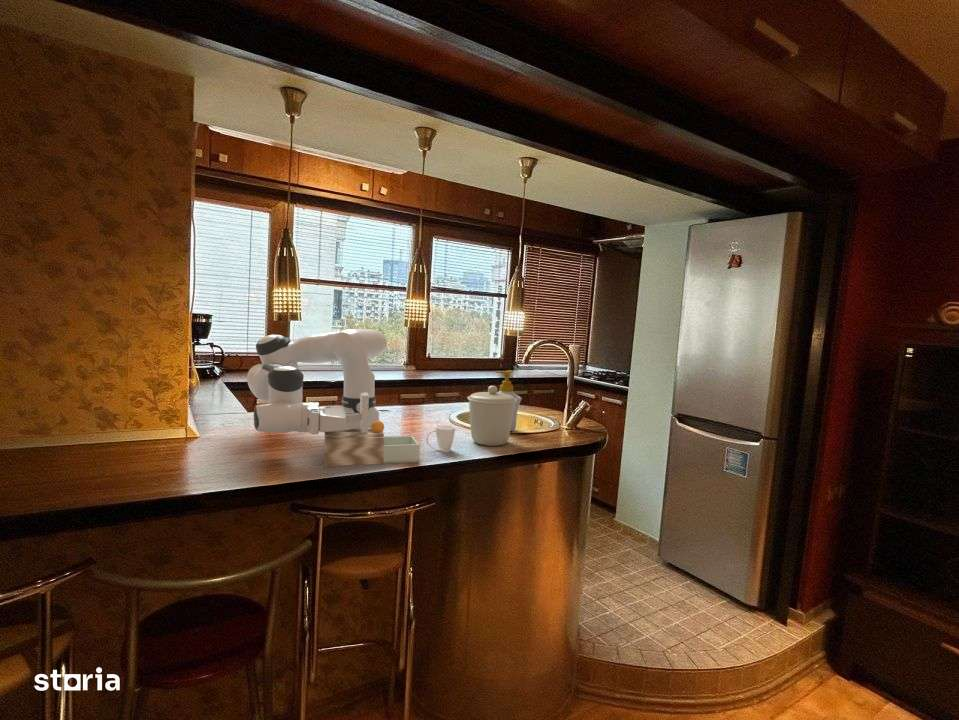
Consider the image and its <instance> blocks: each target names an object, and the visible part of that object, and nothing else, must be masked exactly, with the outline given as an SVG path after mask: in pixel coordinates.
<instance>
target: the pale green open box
mask: <svg viewBox="0 0 959 720" xmlns="http://www.w3.org/2000/svg"><path fill="white" fill-rule="evenodd" d="M419 462H420V443H419V442H418V441H417V439H416V438H415V437H414V435H395V436H394V435H392V436H390V435H389V436H388V435H387V436H384V463H383V464H382V465H385V464H387V465H388V464H405V463H406V464H409V463H419Z"/></svg>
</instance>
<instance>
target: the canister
mask: <svg viewBox="0 0 959 720" xmlns="http://www.w3.org/2000/svg"><path fill="white" fill-rule="evenodd" d="M498 390H499V389H498V387H497V386H496V385H490V386H488V388H487V391H478V392H474V393H472V394H470V395H468V396H467V397H466V398H467V400H468V407H469V424H470V435H471V439H472V440H473V442H475V443H476V444H478V445H481V446H487V447H488V446H489V447H499V446H503V445H505V444H506V443H507V442H508V441H509V438H510V435H511V432H510V430H511V425H512V419H513V413H514V407H515V403H516V402H517V399H515V398H514V397H513V396H511V395H509V394H505V393H498V392H499V391H498Z"/></svg>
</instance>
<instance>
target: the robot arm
mask: <svg viewBox="0 0 959 720" xmlns="http://www.w3.org/2000/svg"><path fill="white" fill-rule="evenodd" d="M387 346H388V340H387V338H386V335H385V334H384V333H383V332H380V331H378V330H377V329H371V328H350V329H349V328H347V329H344V330H341V331H333V332H324V333H317V334H316V333H315V334H310V335H306V336H302V337H299V338H297V339H294V340H293V341H292V339H291V338H290V337H288V336H283V335H281V334H275V333H274V334H273V333H272V334H269V335H266V336H263V337H262V338H260V339H259V340H258V341H257V343H256V344H255V350H256V353H257V356H259V359H260V361H261V363H258V364H255V365H253V366H252V367H251V368H250V369H249V370H248V372H247V374H246V375H247V376H246V381H247V385H248V388H249V390H250V391H251V393H252V394H253V396H255V398H257V399H259V400H261V401H264V402H268V403H263V404H262V403H259V404H257V405H255V407H254V409H253V425H254V428H255V430H256V431H257V432H261V433H272V434H287V433H291V432H297V433H302V434H303V433H308V434H310V435H319V433H325V432H332V431H341V430H345V429H346V428H360V420H361V415H360V396H361V393H368V395H369V407H368V428H371V425H372V423H373V422H374V421H377V420H378V421H380V411H379V410H378V409H377V408H376V396H375V381H376V378H375V374H374V373H373V372H372V371H371V368H370V365H369V360H368V359H374V358H376V357H378V356H380V355H383V353H385V351H386V350H387ZM334 362H335V363H336V362H340V365H341V369H342V373H343V395H342V397H341V398H342V399H341V405H338V404H337V405H335V404H334V405H332V404H331V405H321V406H320V402H313V401H311V402H310V401H309V402H303V385H304V377H305V376H304V374H303V372H302V371H301V370H300V367H299V365H298V363H302V364H324V363H334ZM382 433H384V430H383V431H382Z"/></svg>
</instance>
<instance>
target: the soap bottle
mask: <svg viewBox="0 0 959 720" xmlns="http://www.w3.org/2000/svg"><path fill="white" fill-rule="evenodd" d="M496 373H497V374H502V375H504V376H503V377H504V380H502V382H501V384H500V385H499V391H497V392H498V393H505V394H509V395H511V396H513V397H514V398H515V399H517V402H516V403H515V407H514V413H513V419H512V425H511V430H510V431H512V432H514V431H515V430H516V428H517V418H518V417H517V415H518V411H519V407H520V403H521V401H522V400H523V399H522V397H521V396H519V395H518V394H516V393H515V392H514V385H512V381H510V380H509V379H510V378H511V376H510V375H511V373H513V370H511V369H509V370H502V371H501V370H497V371H496Z"/></svg>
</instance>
